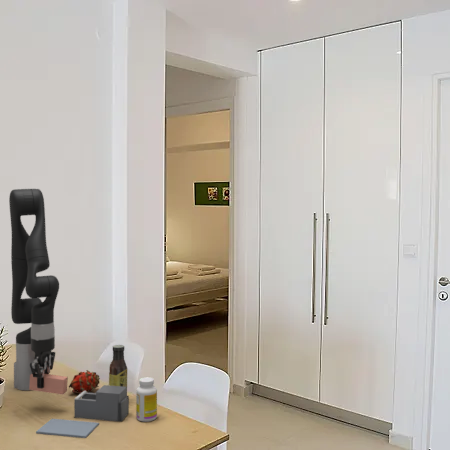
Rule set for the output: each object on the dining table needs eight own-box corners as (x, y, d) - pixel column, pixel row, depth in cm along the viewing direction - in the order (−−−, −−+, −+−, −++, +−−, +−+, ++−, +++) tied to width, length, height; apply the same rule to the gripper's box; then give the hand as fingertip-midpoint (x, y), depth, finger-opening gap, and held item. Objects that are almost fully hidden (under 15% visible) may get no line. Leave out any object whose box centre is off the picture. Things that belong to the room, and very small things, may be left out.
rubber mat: (36, 433, 172) (36, 431, 172) (51, 420, 182) (51, 418, 182) (85, 438, 170) (85, 436, 170) (99, 424, 179) (99, 422, 179)
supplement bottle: (160, 416, 186) (161, 378, 186) (149, 423, 180) (150, 384, 180) (143, 412, 189) (143, 375, 189) (132, 420, 183) (132, 381, 183)
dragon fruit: (102, 393, 211) (71, 405, 204) (93, 375, 216) (63, 386, 209) (105, 380, 206) (74, 391, 199) (96, 362, 211) (65, 372, 204)
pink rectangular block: (29, 389, 190) (29, 375, 189) (33, 386, 193) (34, 372, 192) (62, 394, 188) (63, 379, 187) (66, 391, 191) (67, 376, 190)
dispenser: (74, 417, 185) (74, 390, 184) (83, 409, 191) (83, 383, 191) (121, 421, 182) (121, 394, 181) (128, 413, 189) (128, 386, 188)
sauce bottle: (123, 406, 194) (123, 349, 193) (105, 405, 196) (105, 348, 194) (130, 399, 201) (130, 344, 200) (113, 398, 202) (113, 343, 201)
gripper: (42, 329, 196) (42, 378, 198) (21, 340, 183) (21, 393, 184) (62, 330, 195) (63, 379, 197) (43, 342, 181) (43, 395, 183)
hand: (43, 385), depth 190 cm, fingers closed on pink rectangular block, 2 cm apart
